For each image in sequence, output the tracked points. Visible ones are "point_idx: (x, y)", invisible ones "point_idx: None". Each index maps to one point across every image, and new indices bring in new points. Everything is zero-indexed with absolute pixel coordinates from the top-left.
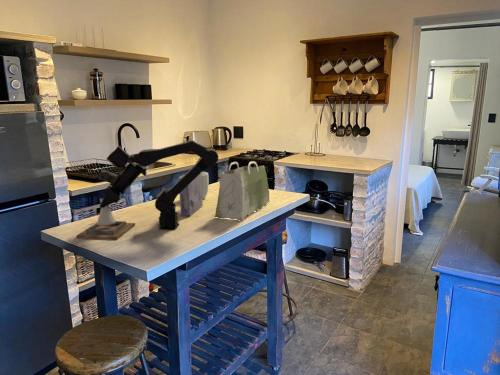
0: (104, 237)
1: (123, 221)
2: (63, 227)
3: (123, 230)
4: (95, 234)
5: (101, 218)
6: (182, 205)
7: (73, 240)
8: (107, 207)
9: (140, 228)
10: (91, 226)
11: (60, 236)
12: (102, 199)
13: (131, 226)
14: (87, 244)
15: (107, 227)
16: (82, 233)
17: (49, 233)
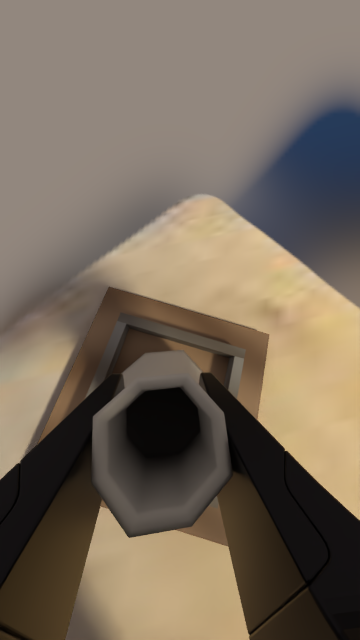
0: (55, 407)
1: None
2: (238, 228)
3: None
4: (100, 359)
5: None
6: None
7: (90, 286)
8: (136, 451)
9: (177, 591)
10: (163, 326)
11: (147, 239)
12: (193, 401)
13: (192, 531)
14: (21, 346)
15: None
16: (129, 303)
17: (184, 204)
